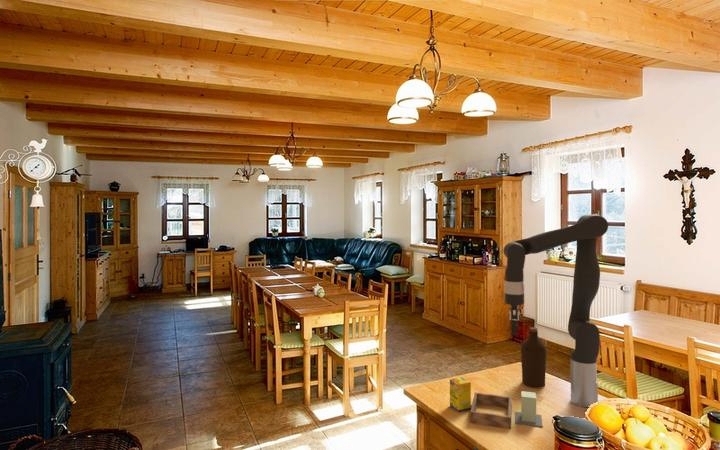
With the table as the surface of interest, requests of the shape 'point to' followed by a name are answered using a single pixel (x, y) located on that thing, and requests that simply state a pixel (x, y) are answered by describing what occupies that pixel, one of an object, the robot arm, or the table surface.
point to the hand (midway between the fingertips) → (514, 331)
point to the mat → (537, 424)
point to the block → (528, 406)
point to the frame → (488, 417)
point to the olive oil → (533, 360)
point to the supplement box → (460, 394)
